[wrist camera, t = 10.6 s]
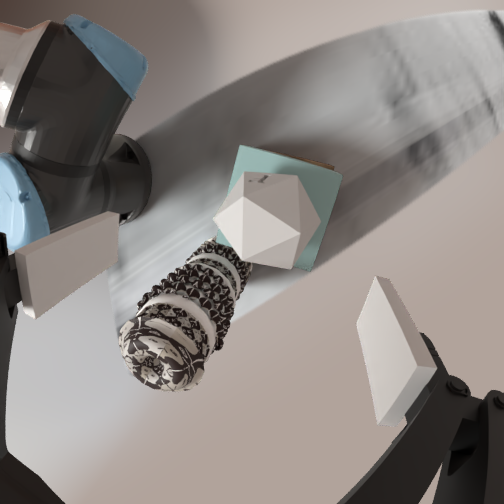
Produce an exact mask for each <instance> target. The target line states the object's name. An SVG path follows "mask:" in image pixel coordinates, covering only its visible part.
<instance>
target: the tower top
mask: <svg viewBox="0 0 504 504" xmlns="http://www.w3.org/2000/svg"><path fill="white" fill-rule="evenodd" d="M244 171H247V172H262V173H275V174H287V175H297V176H298V178H299V180H300V181H301V183H302V185H303V187H304V189H305V191H306V193H307V195H308V197H309V199H310V201H311V202H312V204H313V206H314V208H315V210H316V212H317V214H318V216H319V218H320V220H321V223H320V225H319V226H318V228H317V229H316V231H315V233H314V234H313V236H312V237H311V239H310V241H309V242H308V244H307V245H306V247H305V249H304V250H303V252H302V253H301V255H300V257H299V258H298V260H297V261H296V263H295V264H294V266H293V267H297V268H300V269H303V270H306V271H310V272H311V270H312V267H313V264H314V261H315V259H316V256H317V253H318V250H319V247H320V244H321V242H322V239H323V236H324V233H325V230H326V227H327V224H328V221H329V218H330V215H331V212H332V209H333V206H334V203H335V200H336V197H337V194H338V191H339V188H340V184H341V181H342V178H343V175H342V174H340V173H338V172H336V171H333V170H330V169H327V168H324V167H320V166H317V165H314V164H311V163H308V162H305V161H301V160H298V159H295V158H291V157H288V156H284V155H281V154H277V153H274V152H270V151H266V150H263V149H259V148H255V147H251V146H245V145H240V146H239V150H238V153H237V157H236V161H235V165H234V169H233V173H232V177H231V181H230V185H229V189H228V193H227V196H228V194H229V193H230V191H231V190H232V189H233V187H234V186H235V184H236V183H237V181H238V180H239V178H240V177H241V175H242V174H243V172H244ZM216 243H219V244H223V245H226V246H229V247H232V246H231V244H230V243H229V242H228V240H227V239H226V237H225V236H224V234H223V233H222V232H221V230H220V229H219V230H218V234H217V238H216ZM232 248H233V247H232Z"/></svg>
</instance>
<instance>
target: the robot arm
mask: <svg viewBox="0 0 504 504" xmlns="http://www.w3.org/2000/svg"><path fill="white" fill-rule="evenodd" d="M147 72H148V62H147V60H146V58H145V56H144V55H143V54H142V53H140V52H139V51H138V50H137V49H135V48H134V47H133V46H131V45H130V44H128V43H127V42H125V41H124V40H122V39H121V38H119V37H118V36H116V35H115V34H113V33H111V32H110V31H108V30H106V29H105V28H103V27H101V26H99V25H97V24H95V23H93V22H91V21H89V20H87V19H85V18H84V17H82V16H80V15H77V14H72V15H70V16H69V17H68V18H66V19H65V20H64V25H63V24H59V23H56V22H53V21H50V20H47V21H46V22H43V23H41V24H39V25H37V26H35V27H33V28H30V29H24V28H21V27H17V26H13V25H8V24H5V23H0V125H1V126H2V127H6V128H10V129H14V130H16V131H15V135H14V138H13V141H12V144H11V148H10V151H9V153H1V154H0V504H65V503H64V502H63V501H62V500H61V499H60V498H59V497H58V496H57V495H56V494H55V493H54V492H53V491H52V490H51V489H50V488H49V487H48V485H47V484H46V483H45V482H44V481H43V480H42V479H41V478H40V477H39V476H38V475H37V474H36V473H34V472H33V471H32V470H30V469H29V468H28V467H26V466H25V465H24V464H22V463H21V462H20V461H19V460H18V459H16V458H15V457H14V456H13V455H12V454H10V453H9V452H8V450H7V446H6V440H5V414H6V392H7V380H8V370H9V362H10V354H11V347H12V341H13V335H14V330H15V324H16V319H17V314H18V308H17V303H19V302H20V301H22V303H23V308H24V312H25V313H26V314H27V315H29V316H31V317H32V318H34V319H37V318H38V317H40V316H41V315H42V314H44V313H45V312H46V311H48V310H49V309H51V308H52V307H53V306H55V305H56V304H57V303H59V302H60V301H61V300H63V299H64V298H65V297H67V296H68V295H70V294H71V293H73V292H74V291H75V290H77V289H78V288H80V287H81V286H82V285H84V284H86V283H87V282H88V281H90V280H91V279H93V278H94V277H96V276H97V275H99V274H100V273H102V272H103V271H105V270H106V269H108V268H109V267H111V266H112V265H114V264H115V263H117V262H118V231H119V226H120V225H123V224H125V223H127V222H129V221H131V220H133V219H134V218H135V217H137V216H138V215H139V214H140V212H141V211H142V210H143V208H144V207H145V205H146V203H147V201H148V198H149V195H150V190H151V169H150V165H149V161H148V159H147V156H146V154H145V153H144V151H143V149H142V148H141V147H140V146H139V144H138V143H136V142H135V141H134V140H133V139H131V138H129V137H127V136H124V135H121V134H115V132H116V130H117V128H118V126H119V124H120V123H121V120H122V119H123V117H124V115H125V113H126V112H127V110H128V108H129V106H130V104H131V103H132V101H134V100H135V98H136V96H135V95H136V93H137V91H138V89H139V87H140V85H141V83H142V82H143V80H144V78H145V76H146V74H147ZM8 249H10V250H11V251H13V252H15V253H14V254H12V255H9V256H8ZM356 325H357V329H358V333H359V337H360V342H361V346H362V350H363V355H364V359H365V364H366V368H367V373H368V377H369V382H370V387H371V392H372V398H373V403H374V408H375V414H376V420H377V425H380V426H397V425H398V423H399V422H400V421H401V420H402V419H403V417H404V416H405V417H406V421H407V425H406V426H405V427H404V429H403V430H402V431H401V432H400V433H399V435H398V436H397V437H396V438H395V439H394V440H393V442H392V444H391V445H390V447H389V448H388V449H387V450H386V452H385V453H384V454H383V455H382V456H381V458H380V459H379V460H378V461H377V462H376V463H375V464H374V466H373V467H372V468H371V469H370V470H369V471H368V473H367V474H366V475H365V476H364V477H363V478H362V479H361V480H360V481H359V482H358V483H357V484H356V486H354V487H353V488H352V489H351V490H350V492H348V494H346V495H345V496H344V497H343V498H342V499H341V500H340V501H339V502H338V503H337V504H418V503H419V502H420V500H421V499H422V497H423V495H424V494H425V492H426V491H427V489H428V487H429V485H430V484H431V482H432V480H433V478H434V477H435V475H436V473H437V471H438V469H439V467H440V466H441V463H442V462H443V463H442V469H441V472H440V477H439V481H438V485H437V489H436V493H435V496H434V500H433V503H432V504H504V393H502V392H500V391H497V390H491V391H490V392H489V393H488V394H487V395H486V397H485V398H484V399H483V400H482V399H478V398H475V397H472V396H471V392H470V390H469V387H468V386H467V385H466V384H465V382H463V381H462V380H461V379H459V378H457V377H455V376H451V375H449V374H448V372H447V370H446V368H445V366H444V365H443V362H442V361H441V359H440V357H439V355H438V353H437V351H436V350H435V347H434V345H433V343H432V342H431V340H430V339H429V338H428V337H427V336H426V335H424V333H420V332H419V331H418V329H417V327H416V325H415V323H414V322H413V320H412V318H411V316H410V314H409V313H408V311H407V309H406V307H405V305H404V304H403V302H402V300H401V298H400V297H399V295H398V293H397V291H396V290H395V288H394V287H393V285H392V283H391V281H390V280H389V279H387V278H383V277H379V276H375V277H374V281H373V283H372V286H371V288H370V291H369V294H368V296H367V299H366V301H365V304H364V307H363V309H362V311H361V314H360V316H359V319H358V321H357V324H356Z"/></svg>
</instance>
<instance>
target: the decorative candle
mask: <svg viewBox="0 0 504 504" xmlns="http://www.w3.org/2000/svg"><path fill="white" fill-rule="evenodd" d="M216 238H217V236H215V237H212V238H210V239H208V240H207V241H205V242H204V244H202V245H201V247H199V248H198V249H197V250H196V251H195V252H193V254H192V255H191V256H190V258H188V259H187V260H186V264H185V265H184V266H181V267H179V268H176V269H175V271H174V273H169V274H168V277H167V278H168V279H162V280H161V282H160V286H159V285H154V286H153V287H152V290H151V291H152V292H149V293H145V294H144V295H143V301H139V302H138V304H137V308H138V310H139V311H138V312H137V314H136V317H135V318H134V319H132V320H129V321H127V322H126V324H125V325H124V326H123V327H122V329H121V330H120V336H119V346H120V349H121V352H122V355H123V358H124V359H125V362H126V365H127V367H128V368H129V370H130V371H131V373H132V374H133V375H134V376H135V377H136V378H137V379H138V380H140V381H141V382H142V383H143V384H145V385H147V386H149V387H151V388H153V389H156V390H161V391H174V392H178V391H186V390H190V389H192V388H193V387H194V386H196V385H198V384H199V383H200V381H201V379H202V376H203V374H204V363H205V362H207V361H208V359H209V357H210V355H211V354H212V353H213V352H214V350H220V349H221V348H222V347H223V344H224V343H223V340H222V339H223V338H224V337H225V335H226V334H227V332H228V328H229V327H230V320H231V317H232V316H233V314H234V308H235V305H236V304H235V301H236V300H238V299H239V298H240V294H241V293H242V292H243V290H244V287H245V285H246V282H247V281H248V279H249V277H250V274H251V270H252V262H247V261H242V260H241V259H240V257H239V256H238V254H237V253H236V252H235V250H234V249H233V248H232V247H229V246H226V245H223V244H219V243H216ZM152 297H153V298H152ZM214 347H215V348H214Z"/></svg>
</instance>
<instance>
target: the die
mask: <svg viewBox="0 0 504 504" xmlns="http://www.w3.org/2000/svg"><path fill="white" fill-rule="evenodd" d="M213 220H214V222H215V223H216V224H217V226H218V227H219V229H220V230H221V232H222V233H223V234H224V236H225V237H226V239H227V240H228V242H229V243H230V244H231V246H232V247H233V249H234V250H235V252H236V253H237V254H238V256H239V257H240V259H241V260H242V261H247V262H252V263H257V264H263V265H268V266H274V267H279V268H285V269H290V270H291V269H292V267H293V266H294V264H295V263H296V261H297V260H298V258H299V257H300V255H301V253H302V252H303V250H304V249H305V247H306V245H307V244H308V242H309V241H310V239H311V237H312V236H313V234H314V233H315V231H316V229H317V228H318V226H319V225H320V223H321V220H320V218H319V216H318V214H317V212H316V210H315V208H314V206H313V204H312V202H311V201H310V199H309V197H308V195H307V193H306V191H305V189H304V187H303V185H302V183H301V181H300V180H299V178H298V176H297V175H287V174H275V173H262V172H247V171H244V172H243V174H242V175H241V177H240V178H239V180H238V181H237V183H236V184H235V186H234V187H233V189H232V190H231V191H230V193H229V194H228V196H227V197H226V199H225V200H224V202H223V203H222V205H221V207H220V208H219V210H218V211H217V213H216V214H215V216H214V217H213Z"/></svg>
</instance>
